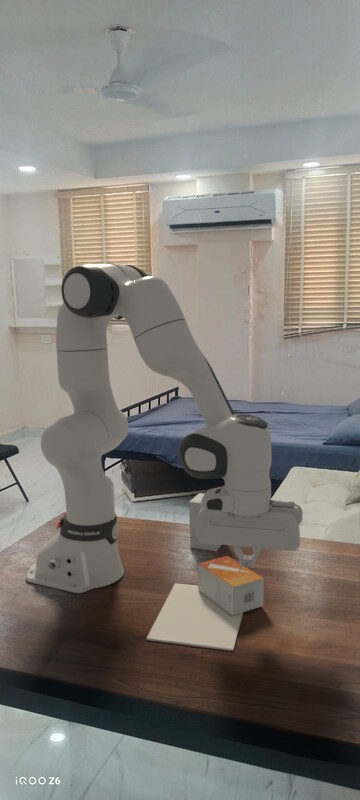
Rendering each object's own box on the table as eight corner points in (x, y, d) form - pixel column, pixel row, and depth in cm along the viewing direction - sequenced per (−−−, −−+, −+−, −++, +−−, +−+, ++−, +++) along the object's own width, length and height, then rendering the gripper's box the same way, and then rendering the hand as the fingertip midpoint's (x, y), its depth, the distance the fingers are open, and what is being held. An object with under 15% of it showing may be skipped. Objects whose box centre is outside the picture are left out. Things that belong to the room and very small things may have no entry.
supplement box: (226, 541, 155) (225, 495, 153) (215, 552, 148) (215, 504, 146) (200, 537, 158) (199, 492, 156) (189, 547, 151) (188, 501, 149)
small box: (233, 587, 116) (197, 563, 127) (232, 616, 117) (197, 590, 128) (264, 577, 121) (227, 554, 132) (264, 606, 122) (227, 581, 133)
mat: (146, 640, 111) (146, 638, 111) (175, 584, 132) (175, 583, 132) (233, 651, 107) (233, 649, 107) (248, 592, 128) (248, 590, 128)
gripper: (303, 497, 113) (301, 563, 116) (199, 490, 118) (200, 554, 121) (302, 508, 107) (300, 578, 110) (193, 500, 112) (193, 568, 115)
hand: (247, 566), depth 115 cm, fingers closed
